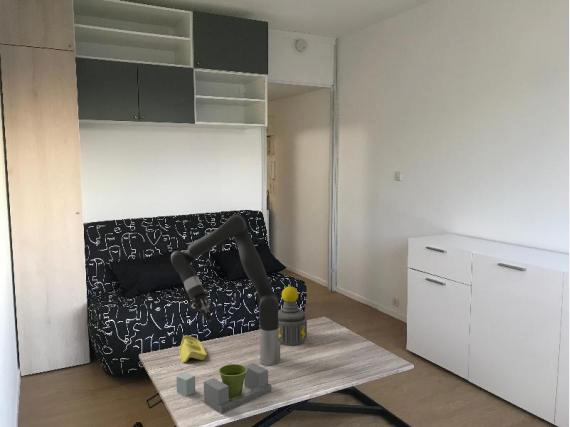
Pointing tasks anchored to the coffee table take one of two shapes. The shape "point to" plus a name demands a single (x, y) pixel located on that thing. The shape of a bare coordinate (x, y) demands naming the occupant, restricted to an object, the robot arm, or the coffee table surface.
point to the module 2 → (215, 393)
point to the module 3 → (255, 376)
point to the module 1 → (185, 384)
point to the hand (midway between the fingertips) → (210, 320)
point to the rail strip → (244, 398)
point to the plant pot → (233, 378)
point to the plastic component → (191, 349)
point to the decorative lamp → (291, 319)
